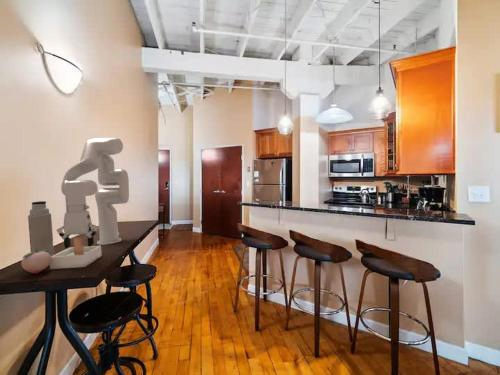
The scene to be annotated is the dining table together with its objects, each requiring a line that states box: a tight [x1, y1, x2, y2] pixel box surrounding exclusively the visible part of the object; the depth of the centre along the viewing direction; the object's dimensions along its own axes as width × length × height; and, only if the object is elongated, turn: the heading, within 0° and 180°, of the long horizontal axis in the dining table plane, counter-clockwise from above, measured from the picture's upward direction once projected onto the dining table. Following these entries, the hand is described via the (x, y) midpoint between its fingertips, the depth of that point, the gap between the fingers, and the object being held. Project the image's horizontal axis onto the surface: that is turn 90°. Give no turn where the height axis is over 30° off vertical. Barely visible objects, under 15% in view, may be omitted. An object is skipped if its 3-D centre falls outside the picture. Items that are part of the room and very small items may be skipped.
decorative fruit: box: [21, 249, 51, 274], centre depth 105 cm, size 9×8×10 cm
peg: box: [72, 236, 85, 255], centre depth 118 cm, size 4×4×10 cm
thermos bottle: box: [27, 201, 55, 267], centre depth 116 cm, size 8×8×28 cm
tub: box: [49, 245, 103, 270], centre depth 118 cm, size 15×14×5 cm
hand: (79, 246), depth 118 cm, fingers open, 9 cm apart
